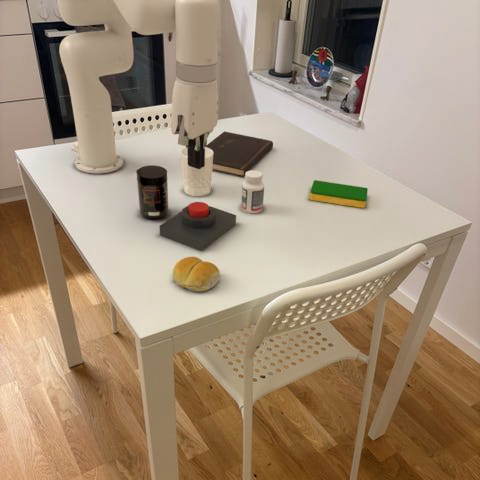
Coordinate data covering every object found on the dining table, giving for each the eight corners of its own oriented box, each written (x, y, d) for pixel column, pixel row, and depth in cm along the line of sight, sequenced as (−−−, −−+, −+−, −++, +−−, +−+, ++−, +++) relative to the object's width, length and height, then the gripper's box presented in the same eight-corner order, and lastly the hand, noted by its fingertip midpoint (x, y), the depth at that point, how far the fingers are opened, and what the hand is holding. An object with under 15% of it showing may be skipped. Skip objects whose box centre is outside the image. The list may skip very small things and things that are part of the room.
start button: (184, 214, 112) (184, 207, 111) (196, 207, 115) (196, 199, 114) (201, 220, 110) (201, 213, 109) (212, 212, 113) (212, 205, 112)
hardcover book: (190, 165, 142) (190, 157, 140) (224, 138, 158) (224, 131, 157) (244, 177, 137) (244, 169, 136) (272, 148, 154) (273, 141, 153)
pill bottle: (265, 206, 126) (268, 171, 120) (258, 215, 122) (261, 180, 116) (244, 201, 127) (246, 167, 121) (237, 211, 123) (239, 175, 117)
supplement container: (167, 206, 123) (165, 164, 116) (170, 220, 118) (169, 177, 111) (138, 208, 121) (135, 166, 115) (141, 222, 116) (137, 179, 110)
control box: (159, 235, 112) (158, 217, 110) (196, 211, 122) (196, 193, 119) (201, 251, 108) (201, 232, 106) (235, 224, 118) (236, 206, 115)
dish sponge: (312, 188, 135) (314, 179, 133) (365, 196, 133) (367, 187, 131) (309, 200, 129) (310, 191, 128) (364, 208, 127) (366, 199, 126)
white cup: (208, 199, 127) (208, 160, 120) (177, 195, 128) (176, 156, 121) (215, 186, 133) (216, 148, 126) (186, 182, 134) (185, 144, 127)
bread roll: (189, 262, 105) (189, 245, 102) (225, 278, 101) (226, 261, 99) (163, 281, 99) (162, 264, 97) (200, 298, 96) (200, 280, 93)
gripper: (202, 59, 101) (201, 150, 113) (155, 75, 91) (159, 173, 103) (235, 67, 98) (230, 159, 110) (189, 84, 88) (189, 184, 100)
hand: (196, 166), depth 107 cm, fingers closed
